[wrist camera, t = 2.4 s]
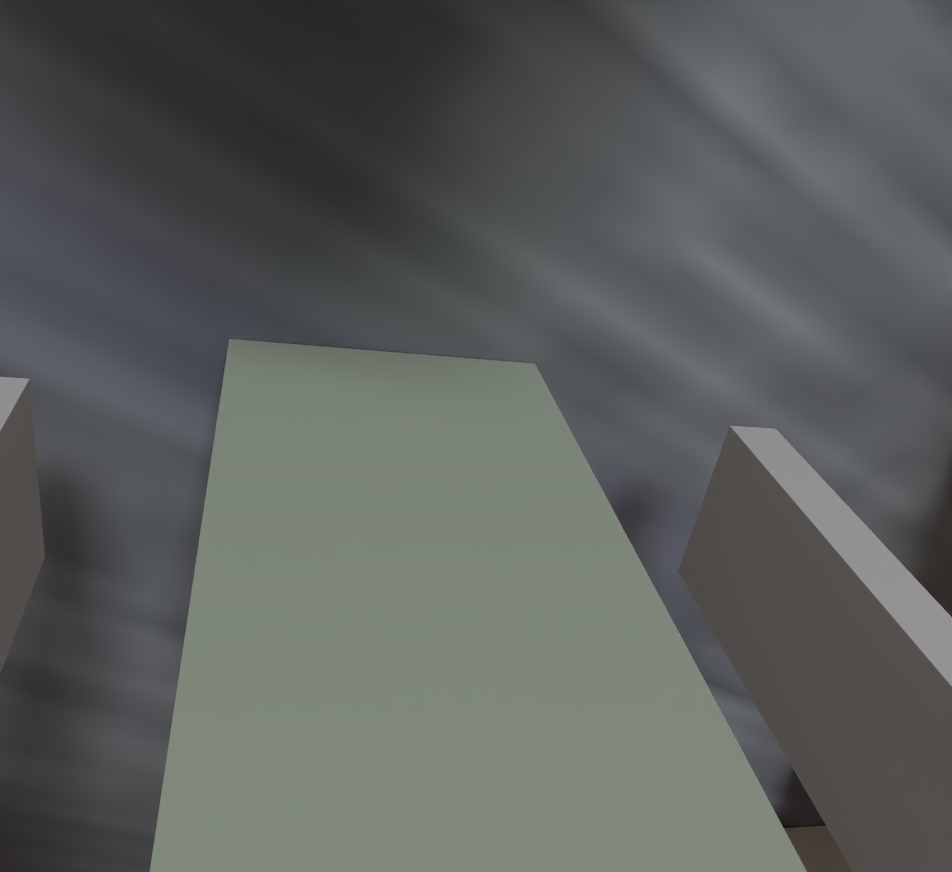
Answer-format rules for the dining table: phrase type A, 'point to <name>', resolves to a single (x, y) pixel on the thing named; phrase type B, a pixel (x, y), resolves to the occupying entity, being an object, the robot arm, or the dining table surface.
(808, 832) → the domino
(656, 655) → the domino
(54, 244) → the dining table surface
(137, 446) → the dining table surface
